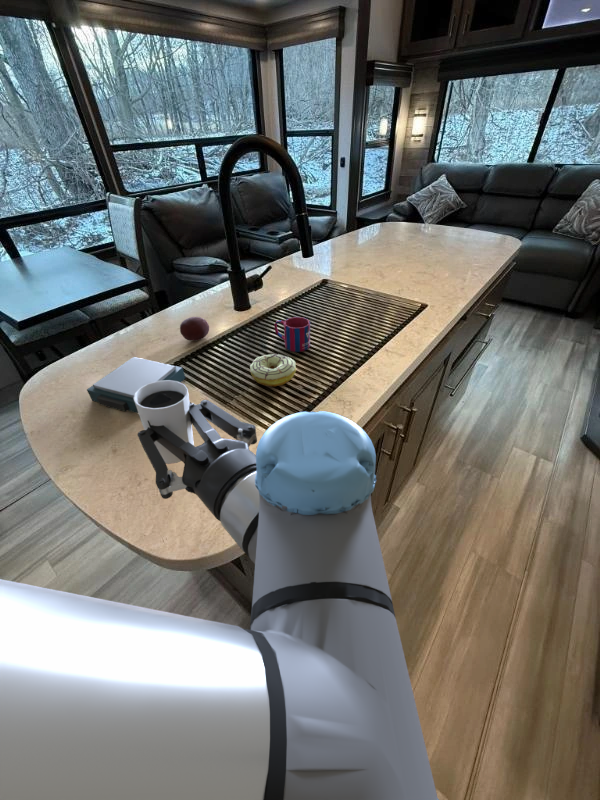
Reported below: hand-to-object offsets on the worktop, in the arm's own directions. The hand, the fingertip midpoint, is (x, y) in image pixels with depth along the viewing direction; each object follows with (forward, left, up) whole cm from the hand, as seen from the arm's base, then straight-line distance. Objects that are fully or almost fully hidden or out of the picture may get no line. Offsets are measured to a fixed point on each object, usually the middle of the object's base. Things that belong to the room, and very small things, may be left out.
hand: (152, 397), depth 49 cm
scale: (-4, +26, -14) cm, 30 cm away
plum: (+12, +45, -15) cm, 49 cm away
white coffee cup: (+1, -5, -6) cm, 8 cm away
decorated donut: (+25, +18, -15) cm, 34 cm away
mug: (+35, +30, -15) cm, 48 cm away
